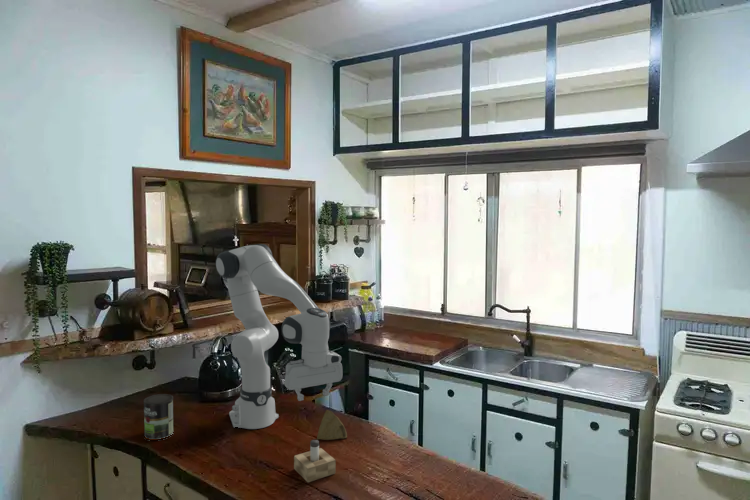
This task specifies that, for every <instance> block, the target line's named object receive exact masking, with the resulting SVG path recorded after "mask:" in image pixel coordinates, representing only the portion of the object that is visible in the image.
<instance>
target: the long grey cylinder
mask: <svg viewBox="0 0 750 500" xmlns="http://www.w3.org/2000/svg"><path fill="white" fill-rule="evenodd" d="M309 447H310V450H309V451H310V461H311V462H315V461H318V460H319V448H320V441H319V439H318V440H317V439H312V440H310V446H309Z"/></svg>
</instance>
